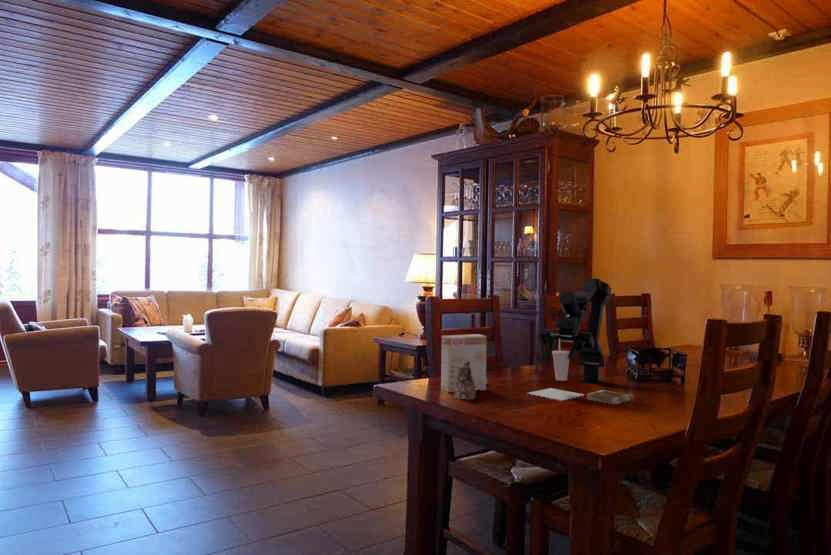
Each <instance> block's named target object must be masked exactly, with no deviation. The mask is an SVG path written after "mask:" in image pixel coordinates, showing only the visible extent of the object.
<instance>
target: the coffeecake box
mask: <svg viewBox="0 0 831 555" xmlns="http://www.w3.org/2000/svg"><path fill="white" fill-rule="evenodd" d="M440 351H441V354H440V356H441V359H440V360H441V363H440V366H441V368H440V369H441V371H440V373H441V374H440V389H441V390H442V389H443V390H442V391H444V390H445V391H444V392H446V391H447V392H446V393H448V392H450V393H454V390H455V384H456V379H457V378H456V376H458V366H459V365H460V364H461V363H462V362H467V361H469V362H470V364H469V367H470V369H471V376H472V377H473V379H474V385H475V392H477V390H480V391H487V384H486V378H487V335H483V334H481V333H477V334H475V333H474V334H473V333H472V334H449V335H446V334H445V335H443V334H442V335H441V350H440Z"/></svg>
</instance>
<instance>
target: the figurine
mask: <svg viewBox="0 0 831 555" xmlns="http://www.w3.org/2000/svg"><path fill="white" fill-rule="evenodd" d="M469 364H470V362H469V361H467V362H462V363H461V364H460V365H459V366H458V376H456V378H457V379H456V384H455V390H454V392H453V393H454V399H456V398H458V399H457V400H460V399H467V400H466V401H470V400H469V399H471V400H474V399H475V398H476V391H475V385H474V379H473V377H472V376H471V369H470V367H469Z"/></svg>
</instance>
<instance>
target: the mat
mask: <svg viewBox="0 0 831 555" xmlns="http://www.w3.org/2000/svg"><path fill="white" fill-rule="evenodd" d="M528 394H530V396H533V395H535V396H534V397H538V396H540V398H543V397H545V398H544V399H548V398H549V399H548V400H553V399H554V400H553V401H557V400H558V401H559V402H565V401H567V400H568V399H569V400H573V399H576V397H577V398H581V397H585V396H584V395H586V394H585V393H584V394H583V393H577V392H572V391H567V390H563V389H558V388H553V387H548V388H545V389H539V390H536V391H535V390H534V391H530V392H527V393H526V395H528ZM580 396H581V397H580ZM572 398H573V399H572ZM564 400H565V401H564Z"/></svg>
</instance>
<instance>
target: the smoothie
mask: <svg viewBox="0 0 831 555" xmlns="http://www.w3.org/2000/svg"><path fill="white" fill-rule="evenodd" d="M570 351H571V350H562V349H561V340H560V339H559V340H558V349H557V350H555V351H552V355H553V356H552V359H553V367H554V374H555V380H556V381H561V382H562V381H563V382H564V381H568V375H569V365H570V360H569V358H568V357H569V353H570Z"/></svg>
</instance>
